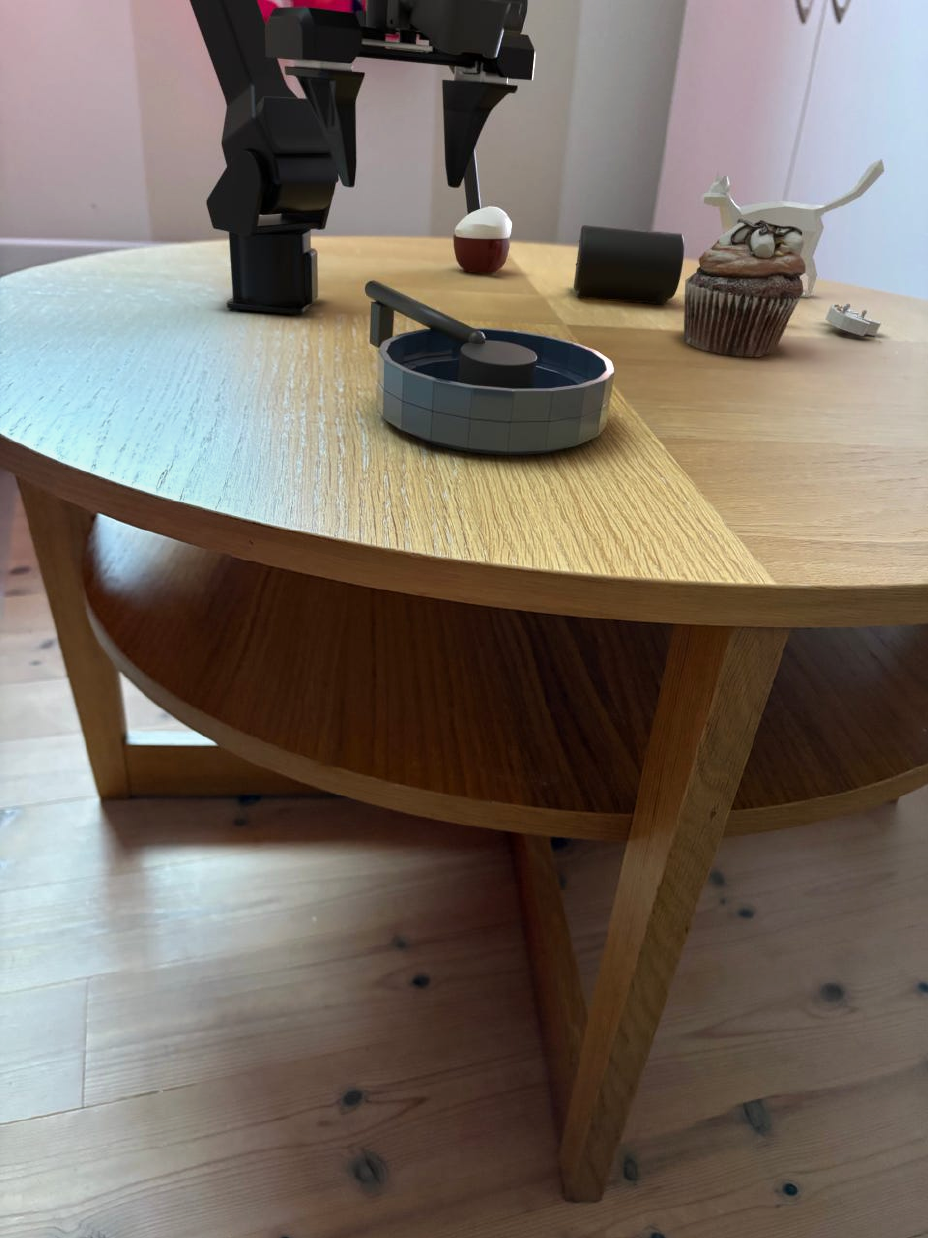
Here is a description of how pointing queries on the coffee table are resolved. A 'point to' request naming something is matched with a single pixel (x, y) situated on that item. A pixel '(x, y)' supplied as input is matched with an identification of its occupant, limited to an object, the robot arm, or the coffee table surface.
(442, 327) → the ladle
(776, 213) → the cat figurine
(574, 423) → the bowl
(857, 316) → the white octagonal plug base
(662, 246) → the end cap
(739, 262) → the cupcake
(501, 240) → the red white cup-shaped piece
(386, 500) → the coffee table surface
